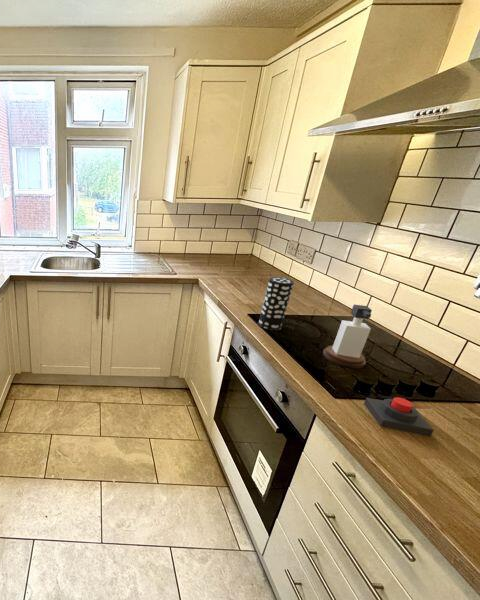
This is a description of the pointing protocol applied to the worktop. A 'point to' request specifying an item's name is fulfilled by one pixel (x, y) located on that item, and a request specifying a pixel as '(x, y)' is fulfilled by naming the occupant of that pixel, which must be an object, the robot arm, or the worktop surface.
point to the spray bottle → (351, 337)
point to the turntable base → (342, 363)
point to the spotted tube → (275, 303)
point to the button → (402, 404)
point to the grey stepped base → (397, 417)
